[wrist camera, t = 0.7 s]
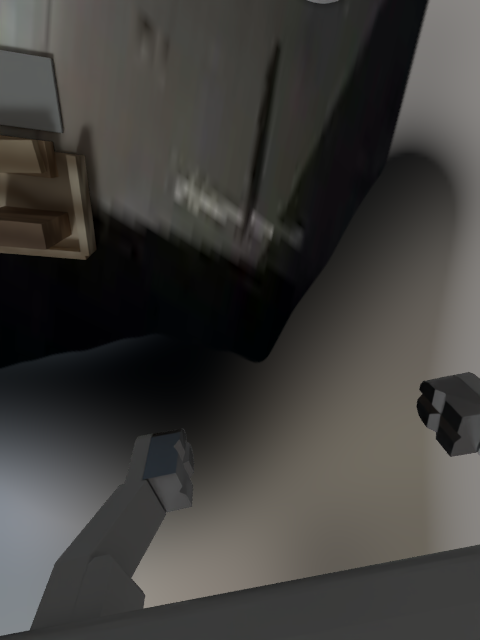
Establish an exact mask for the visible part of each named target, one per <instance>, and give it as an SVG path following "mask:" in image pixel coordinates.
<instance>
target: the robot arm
mask: <svg viewBox="0 0 480 640" xmlns="http://www.w3.org/2000/svg"><path fill="white" fill-rule="evenodd" d="M308 1H311V2H315V3H332V2H336V1H338V0H308ZM419 390H420V391H421V392H422V395H421V396H420V397H419V399H418V401H417V410H418V414H419V416H420V418H421V420H422V421H423V423H424V424H425V426H426V427H427V428H429V429H431V430H433V431H435V432H436V440H437V441H438V442H439V443H440V444H441V446H442V447H443V448H444V449H445V451H446V452H447V453H448V454H449V456H451V457H452V456H458V455H464V454H470V453H476V452H478V454H479V455H480V378H478V377H477V376H476V375H475V374H473V373H470V372H468V373H462V374H457V375H453V376H447V377H441V378H437V379H432V380H427V381H423V382H422V383H421V385H420V389H419ZM193 473H194V459H193V452H192V448H191V445H190V444H189V443H187V442H186V433H185V431H184V430H183V429H178V430H173V431H166V432H160V433H154V434H150V435H144V436H139V437H138V438H137V440H136V441H135V445H134V449H133V453H132V457H131V460H130V464H129V469H128V472H127V476H126V480H125V484H122V485H119V487H118V488H117V489H116V490H115V491H114V493H113V494H112V495H111V496H110V497H109V499H108V500H107V501H106V502H105V503H104V505H103V506H102V507H101V508H100V510H99V511H98V512H97V513H96V514H95V516H94V517H93V518H92V519H91V520H90V522H89V523H88V524H87V525H86V526H85V528H84V529H83V530H82V531H81V533H80V534H79V535H78V536H77V537H76V538H75V540H74V541H73V542H72V543H71V545H70V546H69V547H68V548H67V549H66V551H65V552H64V553H63V554H62V555H61V557H60V558H59V559H58V560H57V561H56V563H55V565H54V568H53V570H52V573H51V576H50V578H49V581H48V583H47V586H46V589H45V591H44V594H43V597H42V599H41V602H40V604H39V607H38V610H37V612H36V615H35V618H34V620H33V623H32V626H31V628H30V630H29V631H24V632H19V633H13V634H8V635H3V636H0V640H480V545H475V546H470V547H465V548H460V549H454V550H449V551H444V552H438V553H434V554H428V555H423V556H417V557H412V558H407V559H402V560H397V561H392V562H386V563H381V564H375V565H370V566H365V567H360V568H355V569H349V570H344V571H339V572H333V573H328V574H323V575H318V576H312V577H307V578H303V579H297V580H291V581H286V582H281V583H276V584H271V585H265V586H260V587H255V588H249V589H244V590H239V591H234V592H228V593H223V594H218V595H213V596H208V597H203V598H197V599H192V600H187V601H181V602H176V603H171V604H165V605H160V606H155V607H150V608H144V609H143V606H144V599H145V594H144V593H143V591H142V590H141V589H140V588H139V586H138V585H137V584H136V583H135V582H134V581H133V580H132V579H131V577H132V576H133V574H134V572H135V570H136V568H137V566H138V565H139V563H140V561H141V559H142V557H143V556H144V554H145V552H146V550H147V548H148V546H149V545H150V543H151V541H152V539H153V537H154V535H155V534H156V532H157V530H158V528H159V526H160V525H161V523H162V521H163V519H164V517H165V515H166V513H165V512H170V511H174V510H179V509H183V508H187V507H192V496H193V484H192V482H191V480H190V477H191V476H192V474H193Z"/></svg>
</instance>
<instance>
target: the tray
mask: <svg viewBox="0 0 480 640" xmlns="http://www.w3.org/2000/svg"><path fill="white" fill-rule="evenodd" d="M55 158H56V164H57V170H58V176H59V177H55V178H44V177H35V176H26V175H18V174H9V173H0V207H3V206H10V207H20V208H30V209H40V210H50V211H60V212H68V215H69V222H70V228H71V234H72V235H70V236H69V237H67V238H65V239H64V240H62V241H60V242H59V243H57V244H56V245H54V246H52V247H51V248H49V249H47V250H41V249H29V248H17V247H5V246H0V253H11V254H23V255H35V256H48V257H60V258H72V259H85V260H86V259H87V258H88V257H89V256H90V255H91V254H92V253H93V252H94V251H95V250H97V249H96V241H95V233H94V225H93V217H92V209H91V201H90V193H89V185H88V177H87V169H86V161H85V156H84V155H76V154H68V153H60V152H55Z"/></svg>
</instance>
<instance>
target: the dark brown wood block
mask: <svg viewBox="0 0 480 640" xmlns="http://www.w3.org/2000/svg"><path fill="white" fill-rule="evenodd" d="M70 235H72V234H71V228H70V222H69V215H68V212H60V211H50V210H40V209H30V208H20V207H10V206H3V207H0V246H5V247H17V248H29V249H41V250H47V249H49V248H51V247H52V246H54V245H56V244H57V243H59V242H60V241H62V240H64V239H65V238H67V237H69V236H70Z"/></svg>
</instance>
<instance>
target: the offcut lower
mask: <svg viewBox="0 0 480 640" xmlns="http://www.w3.org/2000/svg"><path fill="white" fill-rule="evenodd" d="M0 140H35V139H27V138H20V137H12V136H4V135H0ZM36 141H38V144H39V148H40V151H41V155H42V158H43V162H44V165H45V169H46V172H45V173H9V174H18V175H26V176H35V177H44V178H55V177H59V176H58V170H57V164H56V158H55V152H54V146H53V142H50V141H43V140H36Z"/></svg>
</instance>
